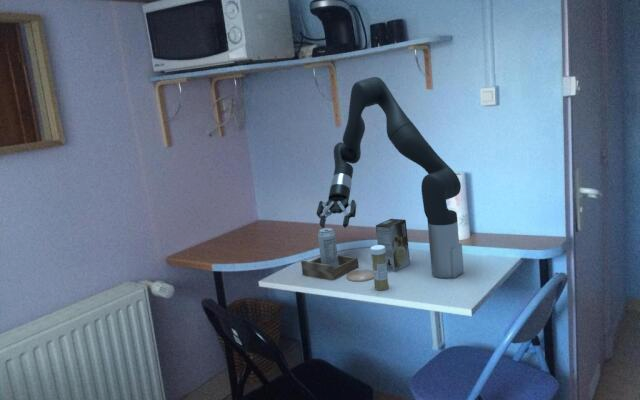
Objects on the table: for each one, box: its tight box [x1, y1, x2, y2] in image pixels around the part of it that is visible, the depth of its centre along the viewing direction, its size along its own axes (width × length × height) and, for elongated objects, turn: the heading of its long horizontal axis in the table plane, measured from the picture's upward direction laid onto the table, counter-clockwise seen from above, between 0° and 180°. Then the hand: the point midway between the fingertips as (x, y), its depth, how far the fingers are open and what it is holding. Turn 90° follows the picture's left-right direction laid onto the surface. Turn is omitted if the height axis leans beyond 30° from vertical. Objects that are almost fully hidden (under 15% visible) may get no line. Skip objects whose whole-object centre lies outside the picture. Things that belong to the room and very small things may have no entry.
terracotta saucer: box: [345, 269, 374, 283], centre depth 185 cm, size 10×10×1 cm
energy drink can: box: [317, 227, 340, 268], centre depth 193 cm, size 6×6×15 cm
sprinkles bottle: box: [370, 244, 390, 291], centre depth 171 cm, size 5×5×13 cm
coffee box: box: [375, 218, 411, 273], centre depth 189 cm, size 9×6×16 cm
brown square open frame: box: [300, 254, 360, 281], centre depth 194 cm, size 14×14×5 cm
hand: (333, 226), depth 198 cm, fingers open, 8 cm apart
